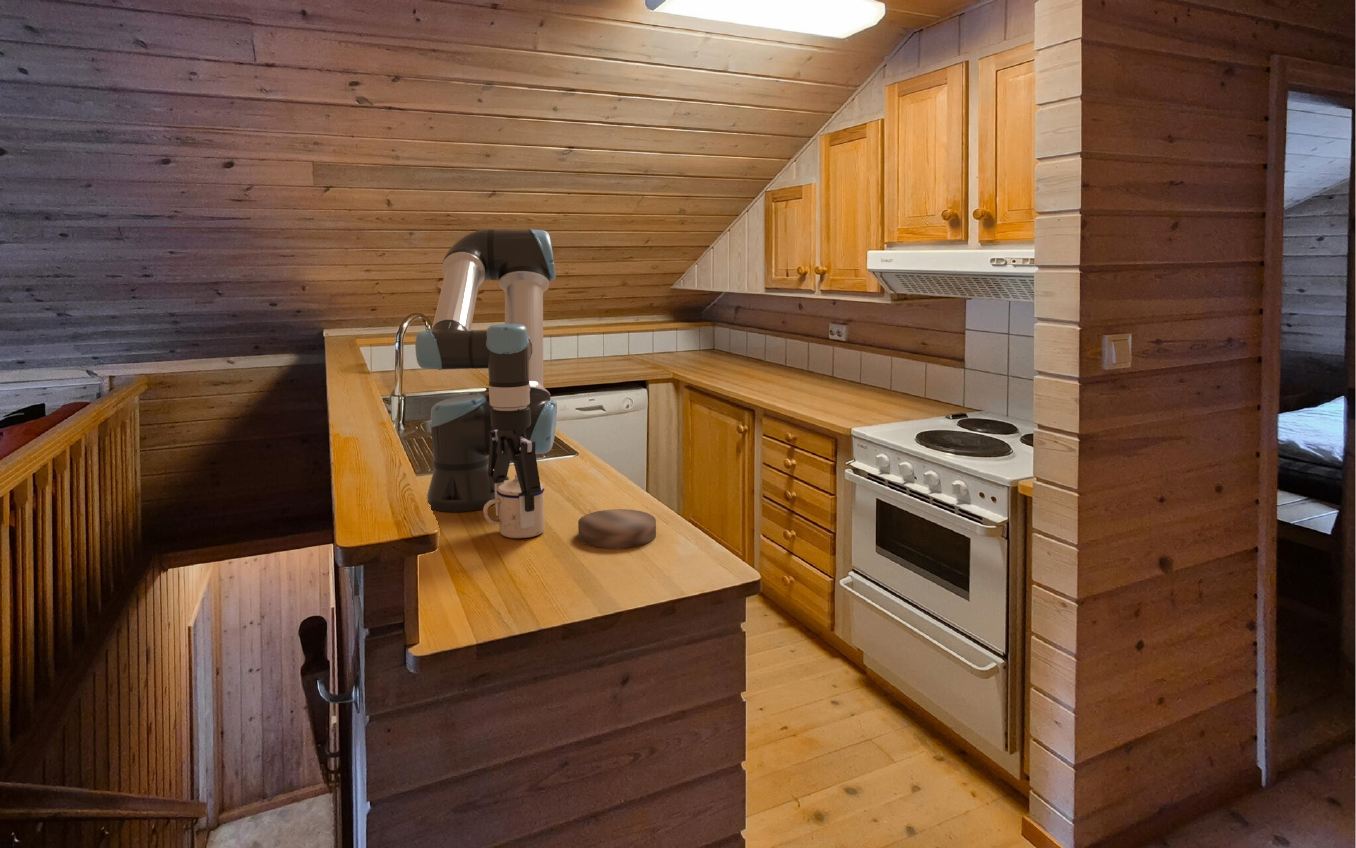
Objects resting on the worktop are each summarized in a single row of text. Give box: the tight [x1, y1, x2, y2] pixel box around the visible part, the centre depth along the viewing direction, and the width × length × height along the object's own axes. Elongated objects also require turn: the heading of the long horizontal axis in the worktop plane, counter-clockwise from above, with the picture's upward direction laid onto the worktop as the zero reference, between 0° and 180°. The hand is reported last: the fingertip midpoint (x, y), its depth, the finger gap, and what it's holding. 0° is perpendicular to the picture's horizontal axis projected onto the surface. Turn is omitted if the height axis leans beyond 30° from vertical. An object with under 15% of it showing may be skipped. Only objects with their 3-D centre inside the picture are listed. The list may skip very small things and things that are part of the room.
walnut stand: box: [577, 508, 657, 550], centre depth 165 cm, size 15×15×3 cm
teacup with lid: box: [482, 473, 545, 539], centre depth 165 cm, size 12×9×12 cm
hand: (515, 520), depth 165 cm, fingers closed on teacup with lid, 9 cm apart
